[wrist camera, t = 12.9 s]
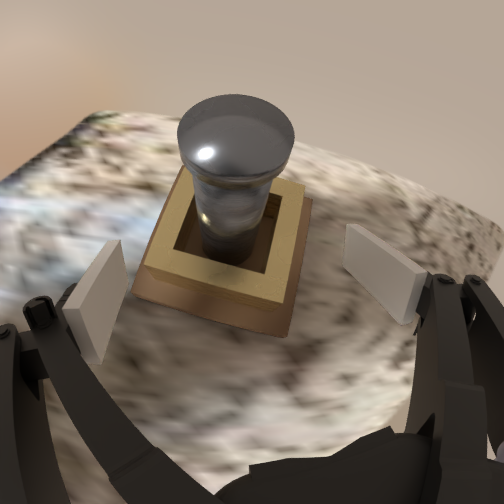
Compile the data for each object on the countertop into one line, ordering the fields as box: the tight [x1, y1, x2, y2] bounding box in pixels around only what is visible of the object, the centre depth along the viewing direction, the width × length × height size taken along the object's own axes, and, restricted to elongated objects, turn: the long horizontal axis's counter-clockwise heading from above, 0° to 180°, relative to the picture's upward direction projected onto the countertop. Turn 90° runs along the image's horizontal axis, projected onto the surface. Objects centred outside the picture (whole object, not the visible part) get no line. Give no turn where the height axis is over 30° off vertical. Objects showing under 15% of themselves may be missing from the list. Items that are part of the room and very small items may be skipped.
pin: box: [177, 94, 295, 266], centre depth 16 cm, size 5×5×12 cm
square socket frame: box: [144, 167, 305, 312], centre depth 20 cm, size 9×9×4 cm
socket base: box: [131, 165, 313, 338], centre depth 23 cm, size 12×12×2 cm
